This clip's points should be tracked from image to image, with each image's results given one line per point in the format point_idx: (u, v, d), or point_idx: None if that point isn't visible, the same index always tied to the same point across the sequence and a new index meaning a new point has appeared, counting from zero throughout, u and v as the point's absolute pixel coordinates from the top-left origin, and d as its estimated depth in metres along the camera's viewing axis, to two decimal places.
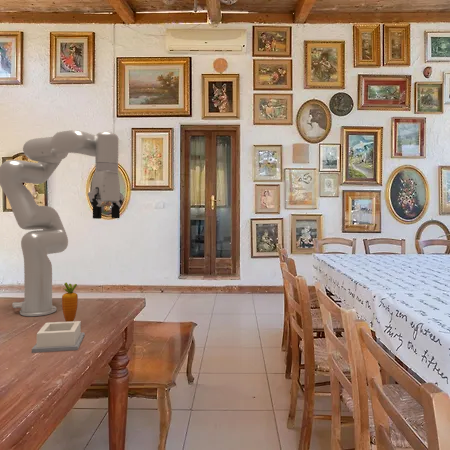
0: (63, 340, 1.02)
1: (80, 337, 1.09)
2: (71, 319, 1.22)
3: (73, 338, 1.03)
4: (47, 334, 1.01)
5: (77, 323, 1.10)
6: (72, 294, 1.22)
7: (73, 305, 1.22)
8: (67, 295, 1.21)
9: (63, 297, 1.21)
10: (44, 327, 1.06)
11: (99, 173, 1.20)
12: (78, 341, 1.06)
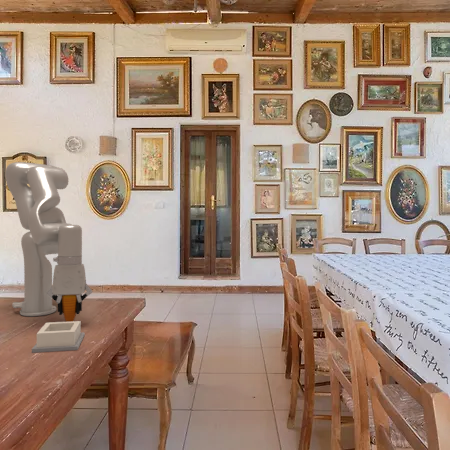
0: (63, 340, 1.02)
1: (80, 337, 1.09)
2: (71, 319, 1.22)
3: (73, 338, 1.03)
4: (47, 334, 1.01)
5: (77, 323, 1.10)
6: None
7: (73, 305, 1.22)
8: (67, 295, 1.21)
9: (63, 297, 1.21)
10: (44, 327, 1.06)
11: None
12: (78, 341, 1.06)
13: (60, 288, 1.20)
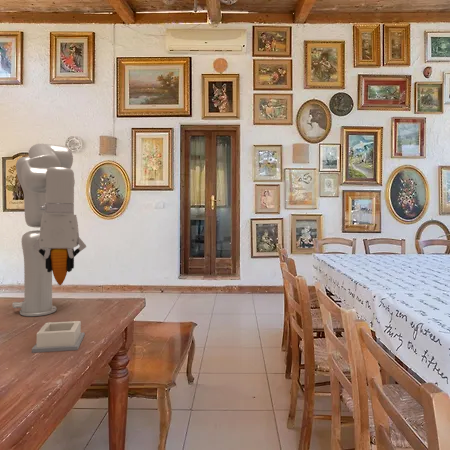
0: (63, 340, 1.02)
1: (80, 337, 1.09)
2: (61, 277, 1.05)
3: (73, 338, 1.03)
4: (47, 334, 1.01)
5: (77, 323, 1.10)
6: None
7: (64, 261, 1.05)
8: (56, 249, 1.04)
9: (52, 251, 1.04)
10: (44, 327, 1.06)
11: None
12: (78, 341, 1.06)
13: (48, 240, 1.02)
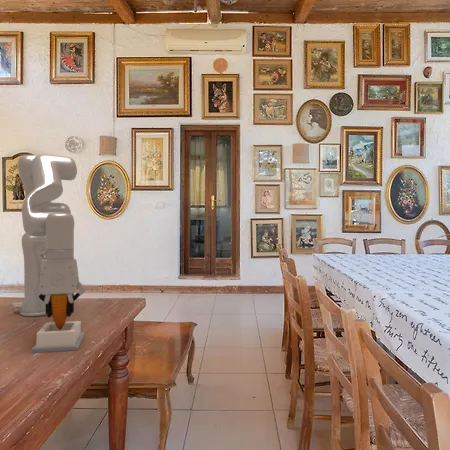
0: (63, 340, 1.02)
1: (80, 337, 1.09)
2: (61, 322, 1.06)
3: (73, 338, 1.03)
4: (47, 334, 1.01)
5: (77, 323, 1.10)
6: None
7: (64, 306, 1.05)
8: (56, 294, 1.04)
9: (52, 297, 1.04)
10: (44, 327, 1.06)
11: (76, 261, 1.08)
12: (78, 341, 1.06)
13: (48, 286, 1.03)
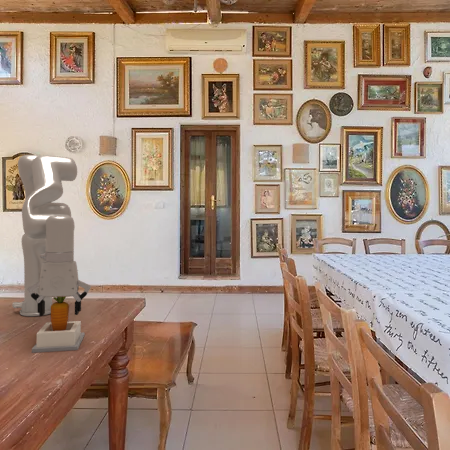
0: (63, 340, 1.02)
1: (80, 337, 1.09)
2: None
3: (73, 338, 1.03)
4: (47, 334, 1.01)
5: (77, 323, 1.10)
6: (63, 304, 1.06)
7: (64, 317, 1.05)
8: (57, 305, 1.05)
9: (52, 307, 1.05)
10: (44, 327, 1.06)
11: None
12: (78, 341, 1.06)
13: (48, 289, 1.03)
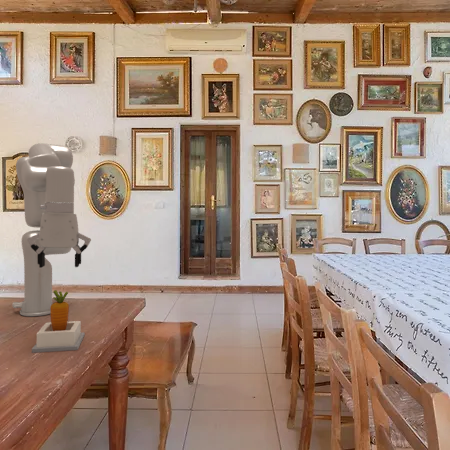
0: (63, 340, 1.02)
1: (80, 337, 1.09)
2: None
3: (73, 338, 1.03)
4: (47, 334, 1.01)
5: (77, 323, 1.10)
6: (62, 304, 1.06)
7: (63, 317, 1.05)
8: (57, 305, 1.05)
9: (52, 307, 1.05)
10: (44, 327, 1.06)
11: (76, 216, 1.07)
12: (78, 341, 1.06)
13: (48, 239, 1.03)
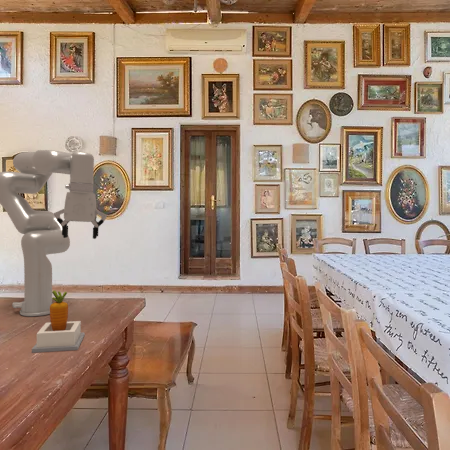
0: (63, 340, 1.02)
1: (80, 337, 1.09)
2: None
3: (73, 338, 1.03)
4: (47, 334, 1.01)
5: (77, 323, 1.10)
6: (62, 304, 1.06)
7: (63, 317, 1.05)
8: (56, 305, 1.05)
9: (51, 307, 1.05)
10: (44, 327, 1.06)
11: None
12: (78, 341, 1.06)
13: (71, 214, 1.21)
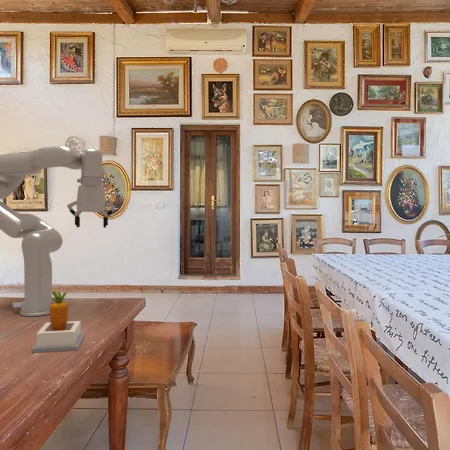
0: (63, 340, 1.02)
1: (80, 337, 1.09)
2: None
3: (73, 338, 1.03)
4: (47, 334, 1.01)
5: (77, 323, 1.10)
6: (61, 304, 1.06)
7: (63, 317, 1.05)
8: (56, 305, 1.05)
9: (51, 307, 1.05)
10: (44, 327, 1.06)
11: None
12: (78, 341, 1.06)
13: (83, 205, 1.33)
